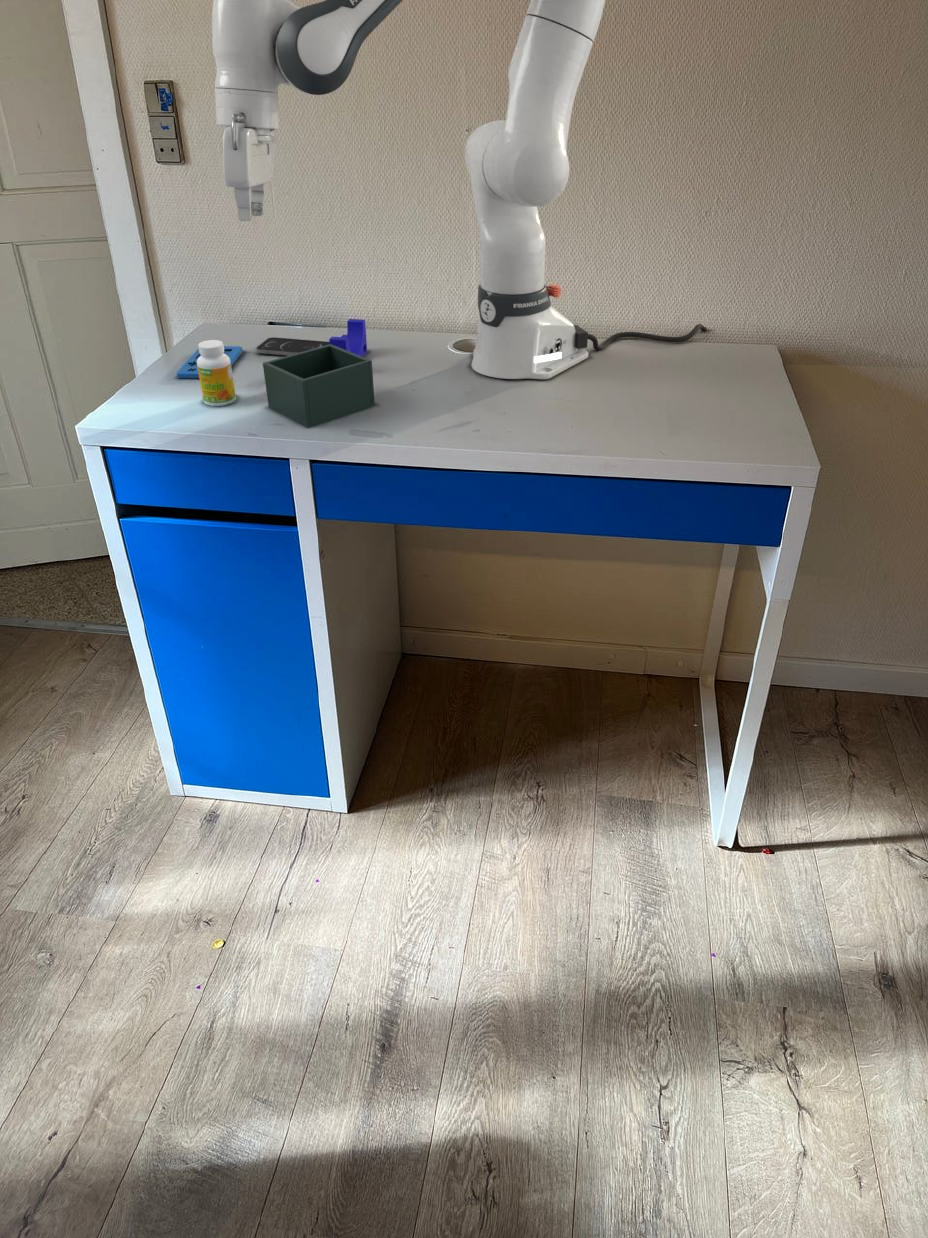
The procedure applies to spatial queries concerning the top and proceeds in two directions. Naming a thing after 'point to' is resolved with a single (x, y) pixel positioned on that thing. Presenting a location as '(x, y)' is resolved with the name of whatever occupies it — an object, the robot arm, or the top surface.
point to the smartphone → (288, 346)
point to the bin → (319, 384)
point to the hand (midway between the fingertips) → (251, 217)
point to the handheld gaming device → (191, 365)
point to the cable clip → (353, 338)
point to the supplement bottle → (215, 374)
